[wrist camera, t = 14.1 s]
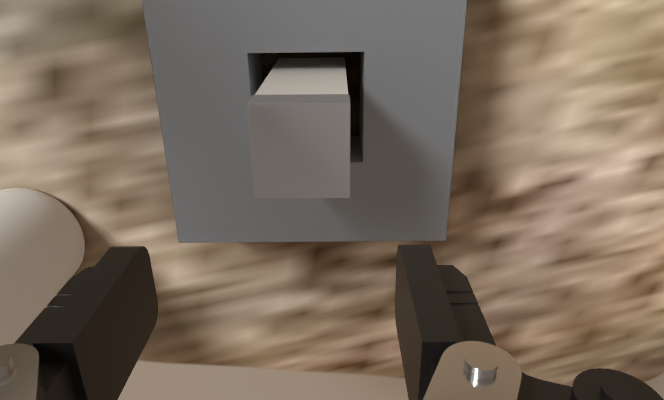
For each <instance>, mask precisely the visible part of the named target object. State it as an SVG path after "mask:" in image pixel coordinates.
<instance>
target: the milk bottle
mask: <svg viewBox="0 0 664 400" xmlns="http://www.w3.org/2000/svg"><path fill="white" fill-rule="evenodd" d="M84 252H85V239H84V235H83V231H82V228H81V226H80V224H79V222H78V220H77V219H76V218H75V216H74V215H73V213H72V212H71V211H70V210H69V209H68V208H67V207H66V206H65V205H64V204H62V203H61V202H59V201H58V200H57V199H55V198H53V197H51V196H49V195H47V194H45V193H43V192H39V191H36V190H33V189H26V188H8V189H3V190H0V346H2V345H6V344H14V343H15V342H16V340H17V339H18V338H19V337H20V336H21V335H22V333H23V332H24V331H25V330H26V329H27V328H28V327H29V325H30V324H31V323H32V322H33V321H34V320H35V318H36V317H37V316H38V315H39V314H40V313H41V311H42V310H43V309H44V308H46V306H47V305H48V303H49V302H50V301H51V300H52V299H53V298H54V296H56V295H57V293H58V292H59V291H60V290H61V288H62V287H63V286H64V285H65V284H66V283H67V281H68V280H69V279H71V277H72V276H73V275H74V273H75V272H76V271H77V270H78V268H79V267H80V265H81V263H82V261H83V258H84Z"/></svg>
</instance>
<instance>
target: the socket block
mask: <svg viewBox="0 0 664 400" xmlns="http://www.w3.org/2000/svg"><path fill="white" fill-rule="evenodd" d="M142 4H143V10H144V17H145V23H146V30H147V37H148V43H149V50H150V56H151V63H152V69H153V76H154V83H155V89H156V96H157V102H158V109H159V115H160V122H161V129H162V135H163V142H164V148H165V155H166V161H167V168H168V175H169V181H170V188H171V194H172V201H173V207H174V214H175V221H176V227H177V234H178V240H179V243H205V242H336V241H446V234H447V223H448V211H449V200H450V189H451V177H452V166H453V154H454V143H455V132H456V120H457V109H458V97H459V86H460V75H461V63H462V52H463V40H464V29H465V17H466V6H467V0H142ZM300 52H360V127H359V136H350V198H254V190H253V177H252V165H251V152H250V139H249V126H248V113H247V103H248V101H249V100H250V98H251V97H252V95H255V94H256V92H257V91H258V89H259V88H260V86H261V85H262V83H263V71H262V56H261V53H300Z"/></svg>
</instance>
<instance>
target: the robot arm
mask: <svg viewBox="0 0 664 400" xmlns="http://www.w3.org/2000/svg"><path fill="white" fill-rule="evenodd" d="M157 314H158V301H157V295H156V290H155V284H154V279H153V273H152V268H151V262H150V257H149V253H148V250H147V249H146V248H145V247H143V246H133V247H111V248H110V249H109V250H108V251H107V252H106V254H105V255H104V256H103V257H102V258H101V260H100V261H99V262H98V263H97V265H96V266H95V267H88V268H86V269H85V270H83V271H82V272H80V273H79V274H77V275H75V276H74V277H72V278H71V279H69V280H68V281H67V283H66V284H65V285H64V286H63V287H62V288H61V290H60V291H59V292H58V293H57V296H54V298H53V299H52V300H51V301H50V302H49V303H48V305H47V308H44V309H43V310H42V311H41V313H40V314H39V315H38V316H37V317H36V318H35V320H34V321H33V322H32V323H31V324H30V325H29V327H28V328H27V329H26V330H25V331H24V332H23V333H22V335H21V336H20V337H19V338H18V339H17V340H16V342H15V343H14V344H6V345H2V346H0V400H118V398H119V395H120V394H121V392H122V390H123V388H124V386H125V384H126V382H127V380H128V378H129V376H130V374H131V372H132V370H133V368H134V366H135V364H136V362H137V360H138V358H139V356H140V354H141V352H142V351H143V349H144V347H145V345H146V343H147V341H148V339H149V337H150V335H151V333H152V331H153V329H154V327H155V324H156V320H157ZM395 317H396V327H397V333H398V339H399V345H400V350H401V356H402V362H403V368H404V374H405V380H406V386H407V392H408V397H409V400H663V398H662V397H660V395H659V394H658V393H657V392H656V391H654V390H653V389H652V388H651V387H650V386H648V385H647V384H646V383H644V382H642V381H641V380H639V379H637V378H635V377H633V376H631V375H628V374H626V373H623V372H620V371H616V370H611V369H602V368H599V369H590V370H586V371H583V372H582V373H580V374H579V375H578V376H577V377H576V378H575V380H574V382H573V387H570V386H565V385H561V384H557V383H552V382H548V381H544V380H540V379H536V378H534V377H531V376H528V375H526V374H524V373H522V372H521V368H520V366H519V364H518V363H517V361H516V360H515V359H514V358H513V357H512V356H511V355H510V354H509V353H507V352H506V351H504V350H503V349H501V348H499V347H497V346H496V345H495V342H494V340H493V338H492V335H491V333H490V330H489V328H488V326H487V323H486V321H485V319H484V316H483V314H482V312H481V309H480V307H479V306H478V302H477V300H476V298H475V295H474V294H473V291H472V288H471V286H470V284H469V281H468V279H467V277H466V276H465V275H464V274H462V273H461V272H460V271H459V270H458V269H457V268H455V267H454V266H453V265H437V264H436V261H435V258H434V255H433V252H432V250H431V247H430V245H399V246H398V251H397V270H396V292H395Z"/></svg>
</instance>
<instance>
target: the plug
mask: <svg viewBox="0 0 664 400" xmlns="http://www.w3.org/2000/svg"><path fill="white" fill-rule="evenodd" d="M247 113H248V126H249V139H250V152H251V165H252V177H253V190H254V198H350V95H349V94H348V87H347V77H346V66H345V58H279V59H278V60H277V62H276V63H275V65H274V67H273V68H272V70H271V71H270V73H269V74H268V76H267V77H266V79H265V80H264V82H263V83H262V85H261V86H260V88H259V89H258V91H257V92H256V94H255V95H252V97H251V98H250V100H249V101H248V103H247Z"/></svg>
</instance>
